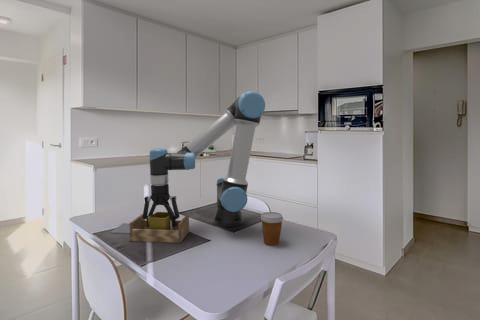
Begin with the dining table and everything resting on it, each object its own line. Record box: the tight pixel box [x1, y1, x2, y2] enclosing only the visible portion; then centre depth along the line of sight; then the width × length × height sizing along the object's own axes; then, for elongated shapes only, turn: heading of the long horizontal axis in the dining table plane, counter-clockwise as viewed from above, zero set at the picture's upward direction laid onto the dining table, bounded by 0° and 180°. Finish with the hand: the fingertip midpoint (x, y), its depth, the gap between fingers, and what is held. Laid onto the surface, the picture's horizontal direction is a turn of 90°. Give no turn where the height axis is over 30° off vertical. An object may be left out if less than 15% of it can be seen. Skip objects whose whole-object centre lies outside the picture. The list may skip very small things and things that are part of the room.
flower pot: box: [148, 211, 174, 230], centre depth 130 cm, size 9×9×9 cm
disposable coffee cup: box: [260, 211, 284, 246], centre depth 123 cm, size 10×10×12 cm
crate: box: [129, 213, 190, 244], centre depth 130 cm, size 22×14×8 cm, turn 86°
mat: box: [109, 222, 130, 235], centre depth 140 cm, size 13×13×1 cm
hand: (161, 233), depth 131 cm, fingers closed on flower pot, 9 cm apart
